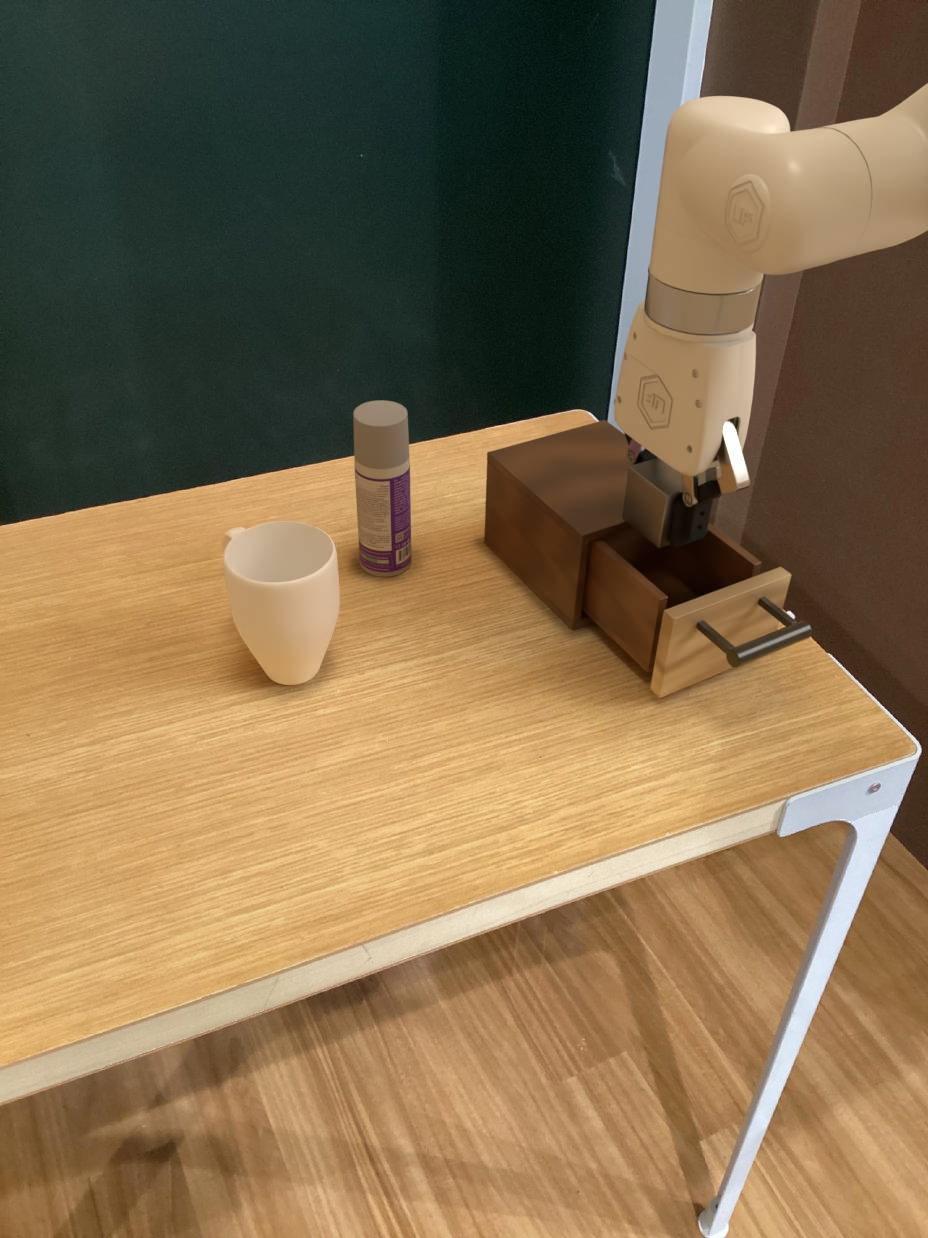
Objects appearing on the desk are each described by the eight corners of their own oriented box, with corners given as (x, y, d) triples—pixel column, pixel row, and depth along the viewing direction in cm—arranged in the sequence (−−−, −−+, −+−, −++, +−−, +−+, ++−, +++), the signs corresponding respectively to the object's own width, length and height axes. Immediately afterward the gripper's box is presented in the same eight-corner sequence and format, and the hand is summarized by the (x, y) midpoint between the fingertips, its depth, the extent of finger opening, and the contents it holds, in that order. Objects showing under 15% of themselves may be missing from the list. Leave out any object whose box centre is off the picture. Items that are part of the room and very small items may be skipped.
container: (399, 542, 99) (395, 395, 90) (419, 569, 96) (418, 419, 86) (352, 554, 97) (343, 405, 88) (371, 582, 94) (364, 431, 85)
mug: (365, 672, 85) (359, 554, 78) (277, 719, 81) (262, 599, 73) (281, 600, 92) (268, 487, 85) (196, 640, 88) (175, 524, 80)
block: (669, 502, 87) (677, 450, 84) (707, 532, 84) (717, 479, 81) (621, 518, 85) (628, 465, 82) (658, 549, 82) (667, 495, 79)
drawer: (815, 688, 83) (838, 609, 78) (700, 738, 79) (718, 658, 74) (667, 565, 95) (680, 490, 90) (561, 602, 91) (568, 526, 86)
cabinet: (690, 587, 94) (707, 494, 88) (572, 630, 89) (582, 535, 83) (594, 507, 104) (604, 419, 98) (483, 542, 99) (487, 452, 93)
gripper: (584, 267, 77) (564, 484, 88) (742, 359, 65) (696, 595, 77) (667, 250, 80) (637, 462, 91) (832, 335, 68) (775, 565, 80)
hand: (665, 520), depth 84 cm, fingers closed on block, 4 cm apart
